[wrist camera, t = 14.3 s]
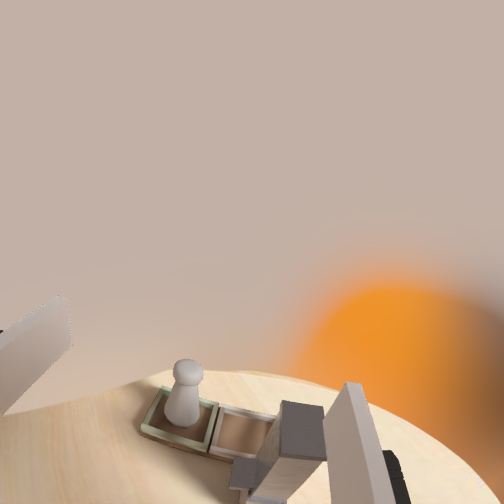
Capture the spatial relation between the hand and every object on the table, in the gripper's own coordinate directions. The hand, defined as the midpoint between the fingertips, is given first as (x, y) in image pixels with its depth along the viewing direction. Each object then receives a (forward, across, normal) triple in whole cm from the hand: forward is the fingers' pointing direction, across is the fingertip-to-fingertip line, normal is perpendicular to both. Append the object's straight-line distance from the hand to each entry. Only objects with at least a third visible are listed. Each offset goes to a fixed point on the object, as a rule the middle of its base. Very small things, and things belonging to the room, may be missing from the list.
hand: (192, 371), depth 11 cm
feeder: (+10, +9, -32) cm, 35 cm away
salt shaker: (+21, -4, -31) cm, 38 cm away
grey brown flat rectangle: (+21, +2, -32) cm, 38 cm away
